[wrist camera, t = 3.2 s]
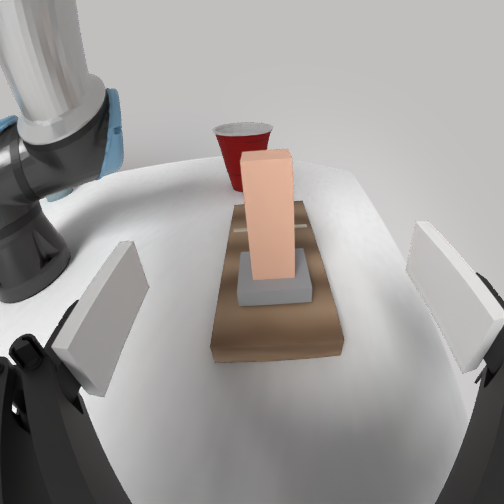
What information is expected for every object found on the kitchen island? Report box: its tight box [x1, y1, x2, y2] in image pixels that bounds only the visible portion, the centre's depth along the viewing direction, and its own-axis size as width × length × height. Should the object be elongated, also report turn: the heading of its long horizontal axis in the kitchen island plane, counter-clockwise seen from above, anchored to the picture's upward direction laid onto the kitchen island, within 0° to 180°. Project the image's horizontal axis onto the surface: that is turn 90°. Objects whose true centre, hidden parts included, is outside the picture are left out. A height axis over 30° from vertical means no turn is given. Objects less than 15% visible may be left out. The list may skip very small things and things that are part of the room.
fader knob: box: [237, 149, 312, 306], centre depth 23 cm, size 6×6×12 cm
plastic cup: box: [213, 122, 273, 192], centre depth 52 cm, size 11×11×12 cm
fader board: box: [210, 201, 344, 362], centre depth 32 cm, size 26×10×2 cm, turn 179°
